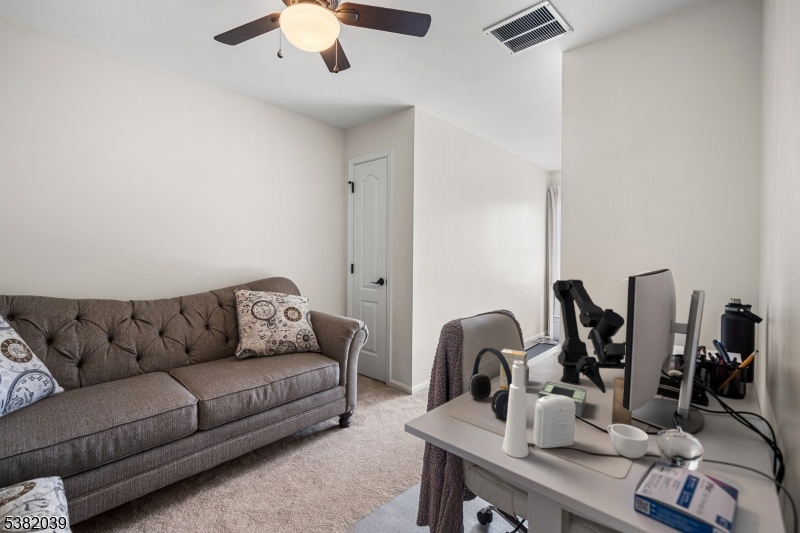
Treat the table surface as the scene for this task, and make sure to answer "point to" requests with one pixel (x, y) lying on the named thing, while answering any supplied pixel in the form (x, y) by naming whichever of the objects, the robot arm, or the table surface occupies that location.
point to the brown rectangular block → (620, 404)
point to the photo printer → (554, 421)
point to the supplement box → (510, 358)
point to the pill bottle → (527, 375)
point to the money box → (566, 394)
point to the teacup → (628, 440)
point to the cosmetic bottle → (516, 415)
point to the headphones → (482, 385)
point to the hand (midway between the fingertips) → (621, 393)
